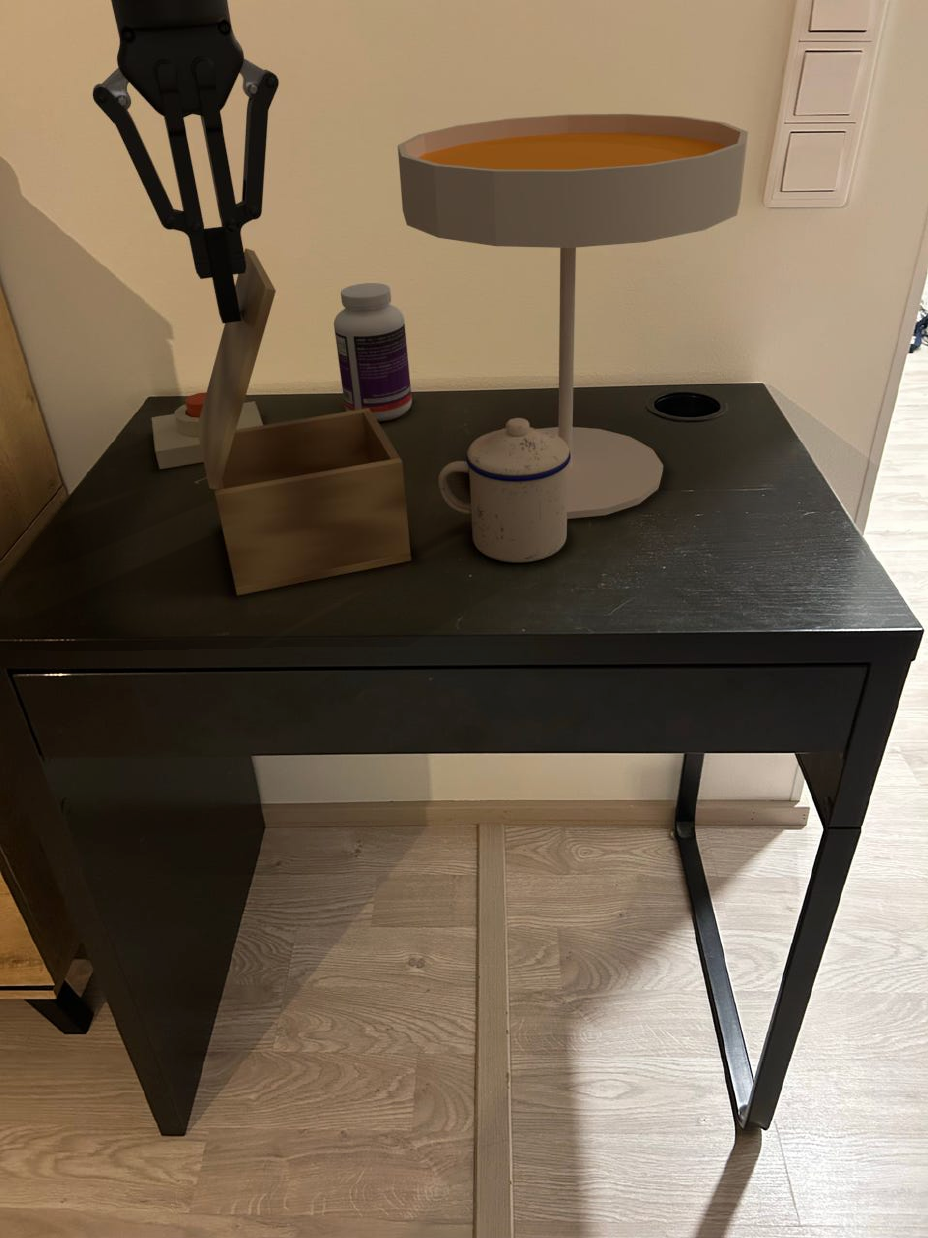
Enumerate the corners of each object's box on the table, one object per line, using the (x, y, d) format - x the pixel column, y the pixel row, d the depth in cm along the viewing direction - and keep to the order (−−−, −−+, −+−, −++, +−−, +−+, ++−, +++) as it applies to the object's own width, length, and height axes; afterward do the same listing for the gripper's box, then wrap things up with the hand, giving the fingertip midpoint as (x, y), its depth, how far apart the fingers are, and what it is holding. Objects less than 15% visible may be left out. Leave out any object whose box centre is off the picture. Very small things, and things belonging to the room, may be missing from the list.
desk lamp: (631, 399, 114) (648, 104, 96) (769, 508, 90) (825, 145, 73) (391, 441, 107) (361, 132, 89) (473, 570, 84) (455, 187, 66)
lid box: (379, 499, 96) (369, 407, 90) (411, 560, 86) (402, 461, 80) (222, 528, 92) (201, 434, 87) (237, 595, 82) (214, 494, 77)
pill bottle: (424, 404, 116) (415, 282, 107) (390, 429, 110) (378, 303, 102) (368, 395, 119) (355, 276, 111) (332, 419, 113) (315, 296, 105)
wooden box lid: (254, 250, 80) (245, 247, 79) (276, 290, 70) (265, 286, 69) (205, 431, 87) (196, 429, 86) (218, 490, 77) (208, 488, 76)
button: (189, 421, 105) (186, 406, 104) (187, 409, 108) (184, 395, 107) (222, 416, 106) (219, 401, 105) (219, 404, 109) (216, 390, 108)
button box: (159, 469, 104) (151, 435, 102) (155, 434, 112) (147, 402, 110) (269, 451, 107) (263, 417, 104) (257, 418, 115) (252, 386, 112)
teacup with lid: (577, 521, 90) (580, 404, 84) (557, 571, 83) (559, 447, 77) (456, 509, 93) (450, 395, 87) (427, 556, 86) (417, 436, 80)
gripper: (254, -49, 67) (303, 293, 80) (59, -38, 64) (144, 315, 77) (269, -51, 61) (319, 319, 74) (55, -39, 58) (148, 343, 71)
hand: (230, 316), depth 76 cm, fingers closed
